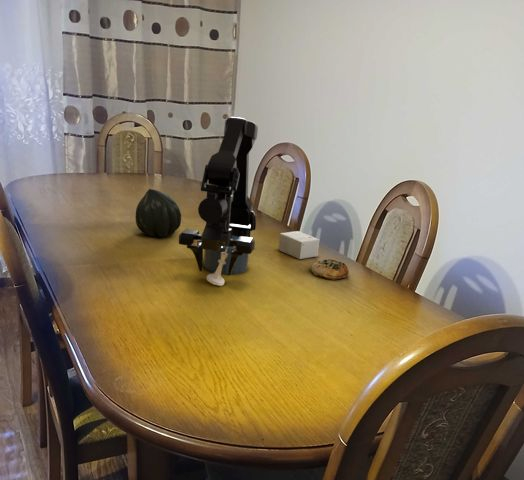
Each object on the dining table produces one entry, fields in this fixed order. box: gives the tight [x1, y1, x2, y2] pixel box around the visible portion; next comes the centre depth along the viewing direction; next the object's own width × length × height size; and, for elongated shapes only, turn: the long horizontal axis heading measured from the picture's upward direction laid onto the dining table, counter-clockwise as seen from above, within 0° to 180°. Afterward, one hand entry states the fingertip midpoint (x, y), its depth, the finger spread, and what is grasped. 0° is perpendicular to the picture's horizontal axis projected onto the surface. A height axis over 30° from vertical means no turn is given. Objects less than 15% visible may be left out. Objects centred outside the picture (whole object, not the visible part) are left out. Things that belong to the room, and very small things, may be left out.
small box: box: [277, 230, 321, 260], centre depth 178 cm, size 8×6×10 cm
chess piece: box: [205, 247, 228, 287], centre depth 146 cm, size 5×5×10 cm
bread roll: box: [310, 258, 349, 281], centre depth 164 cm, size 11×11×5 cm
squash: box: [135, 188, 182, 238], centre depth 181 cm, size 14×15×15 cm
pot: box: [203, 249, 249, 275], centre depth 160 cm, size 12×12×7 cm
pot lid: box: [221, 228, 239, 250], centre depth 157 cm, size 13×13×5 cm
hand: (215, 273), depth 148 cm, fingers open, 7 cm apart
